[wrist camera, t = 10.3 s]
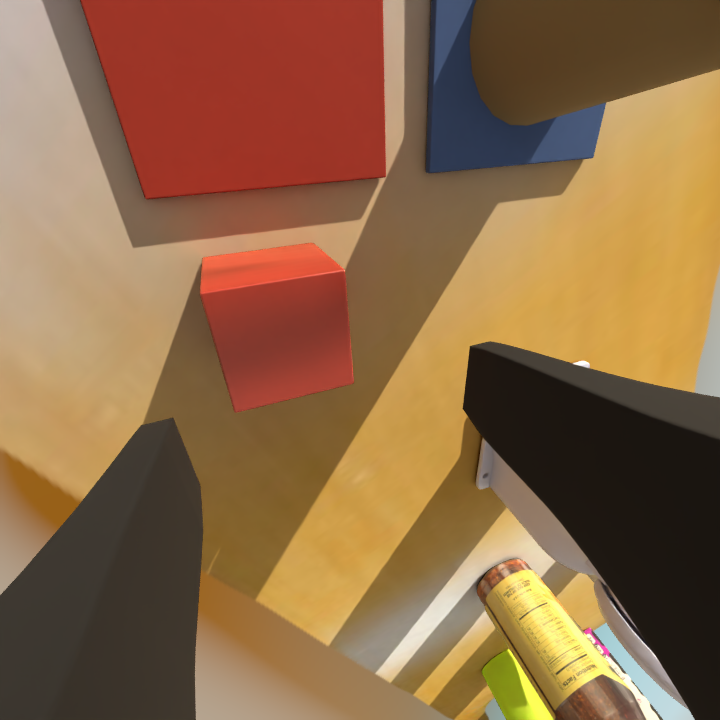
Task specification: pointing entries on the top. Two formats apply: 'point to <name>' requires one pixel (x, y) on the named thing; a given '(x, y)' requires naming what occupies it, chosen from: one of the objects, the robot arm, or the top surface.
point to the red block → (278, 323)
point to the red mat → (244, 90)
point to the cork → (585, 51)
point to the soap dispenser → (513, 689)
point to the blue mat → (487, 110)
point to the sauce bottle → (553, 648)
